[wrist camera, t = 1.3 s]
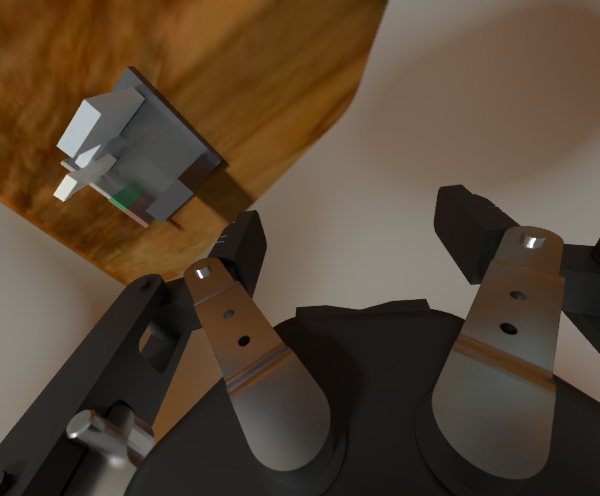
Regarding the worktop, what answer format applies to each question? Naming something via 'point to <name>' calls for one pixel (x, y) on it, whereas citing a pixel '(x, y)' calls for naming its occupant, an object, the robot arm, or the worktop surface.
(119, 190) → the stand
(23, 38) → the worktop surface
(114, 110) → the block
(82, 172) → the bar
